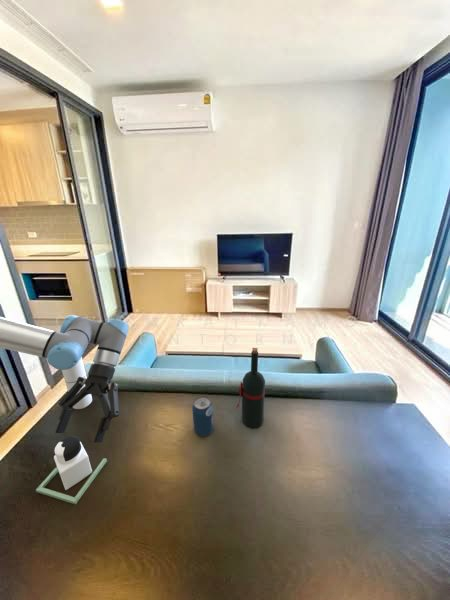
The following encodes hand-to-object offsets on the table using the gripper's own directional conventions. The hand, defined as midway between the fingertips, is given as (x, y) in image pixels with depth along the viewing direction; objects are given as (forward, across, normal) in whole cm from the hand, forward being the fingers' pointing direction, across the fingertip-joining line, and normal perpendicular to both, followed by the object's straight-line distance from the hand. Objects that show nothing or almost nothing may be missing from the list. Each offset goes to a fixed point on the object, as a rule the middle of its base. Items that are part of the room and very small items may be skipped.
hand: (78, 437), depth 74 cm
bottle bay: (+10, 0, -4) cm, 11 cm away
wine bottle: (-13, -47, -27) cm, 55 cm away
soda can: (-7, -32, -21) cm, 39 cm away
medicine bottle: (+10, 0, -4) cm, 11 cm away
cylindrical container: (-7, +20, -22) cm, 30 cm away
